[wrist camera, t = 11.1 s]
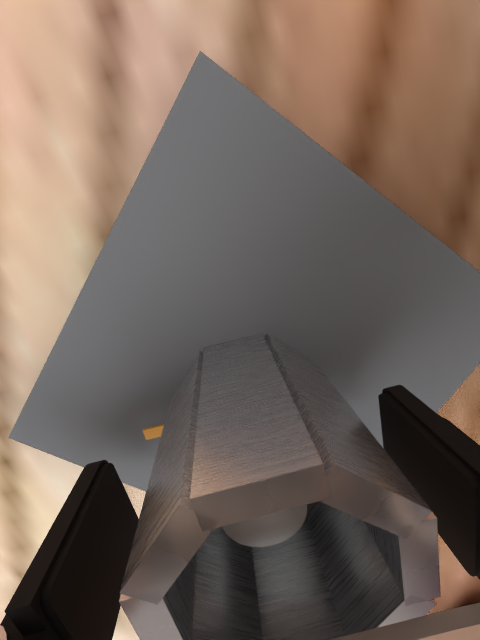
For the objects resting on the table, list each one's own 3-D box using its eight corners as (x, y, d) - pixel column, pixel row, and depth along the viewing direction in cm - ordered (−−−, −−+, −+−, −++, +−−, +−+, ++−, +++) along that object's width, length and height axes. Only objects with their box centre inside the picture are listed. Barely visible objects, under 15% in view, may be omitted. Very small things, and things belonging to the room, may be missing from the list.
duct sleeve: (309, 320, 12) (433, 435, 5) (331, 446, 14) (442, 650, 7) (150, 360, 12) (65, 531, 5) (194, 481, 14) (175, 721, 7)
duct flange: (201, 68, 10) (182, -158, 4) (504, 303, 13) (720, 356, 8) (23, 422, 13) (-125, 570, 7) (305, 537, 17) (353, 697, 11)
